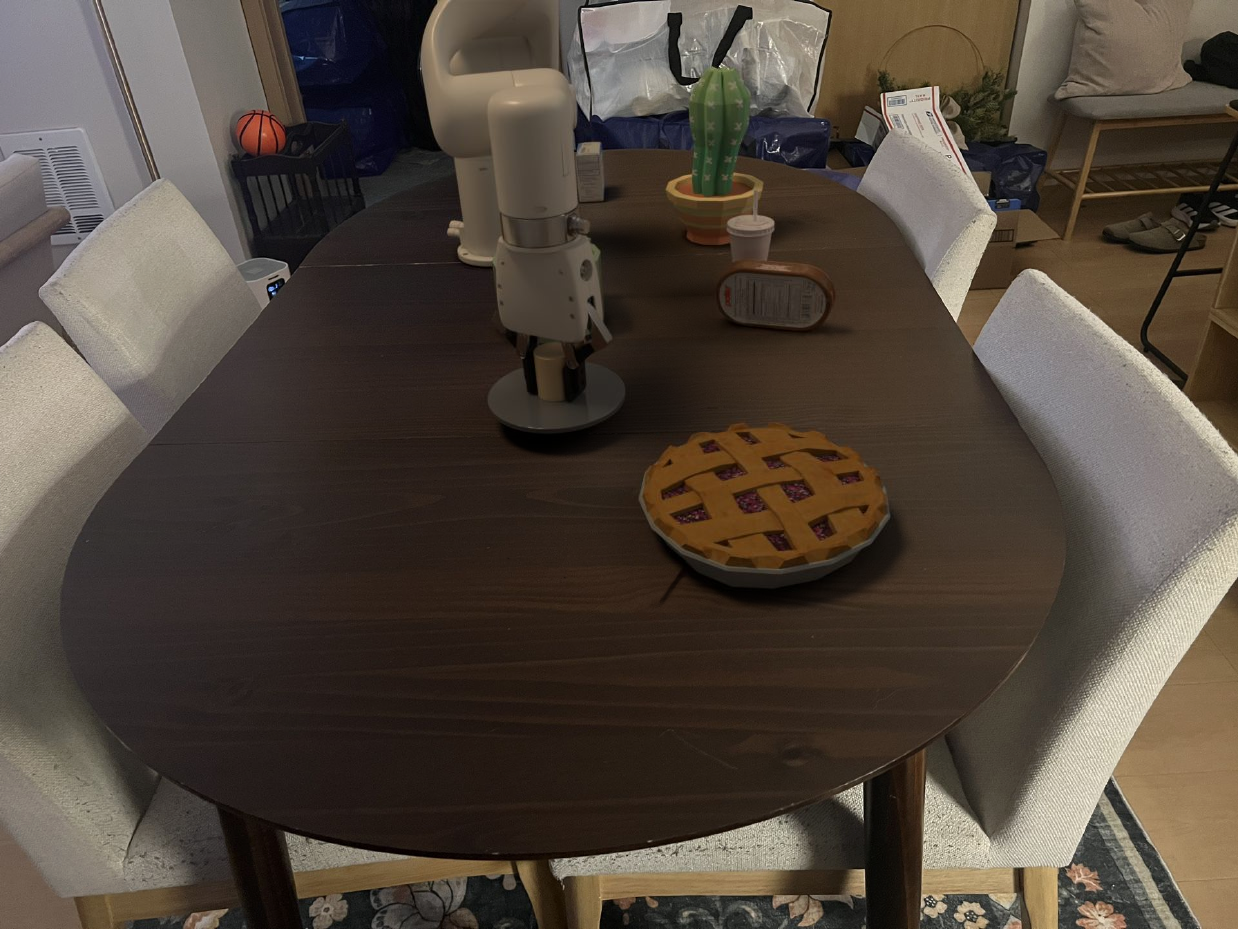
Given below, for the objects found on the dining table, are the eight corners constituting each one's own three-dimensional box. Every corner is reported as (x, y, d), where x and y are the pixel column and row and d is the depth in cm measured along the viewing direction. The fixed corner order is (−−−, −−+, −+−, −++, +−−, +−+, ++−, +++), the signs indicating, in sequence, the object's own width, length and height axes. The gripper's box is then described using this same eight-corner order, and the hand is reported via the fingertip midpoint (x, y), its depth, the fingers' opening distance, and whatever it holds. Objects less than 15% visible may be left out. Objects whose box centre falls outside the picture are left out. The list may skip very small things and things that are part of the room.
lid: (461, 421, 97) (452, 369, 94) (535, 360, 108) (529, 311, 104) (583, 451, 91) (579, 397, 88) (648, 384, 102) (647, 333, 98)
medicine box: (603, 202, 165) (600, 152, 160) (578, 203, 165) (575, 154, 161) (604, 188, 172) (602, 141, 167) (581, 190, 172) (577, 142, 167)
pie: (604, 491, 89) (601, 448, 86) (798, 436, 96) (800, 394, 93) (711, 634, 72) (711, 585, 69) (937, 554, 79) (945, 507, 76)
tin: (833, 326, 117) (838, 263, 113) (829, 337, 115) (834, 273, 110) (718, 315, 122) (718, 254, 117) (712, 325, 120) (712, 263, 115)
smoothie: (770, 299, 125) (774, 197, 118) (723, 298, 127) (724, 197, 119) (773, 281, 131) (777, 182, 123) (728, 280, 132) (729, 182, 124)
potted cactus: (783, 236, 146) (791, 67, 132) (707, 260, 139) (708, 84, 125) (720, 213, 157) (722, 54, 143) (647, 234, 150) (641, 70, 136)
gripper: (635, 222, 88) (641, 390, 98) (489, 203, 95) (509, 362, 105) (598, 249, 82) (609, 424, 93) (446, 227, 89) (472, 392, 99)
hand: (556, 389), depth 99 cm, fingers closed on lid, 4 cm apart
